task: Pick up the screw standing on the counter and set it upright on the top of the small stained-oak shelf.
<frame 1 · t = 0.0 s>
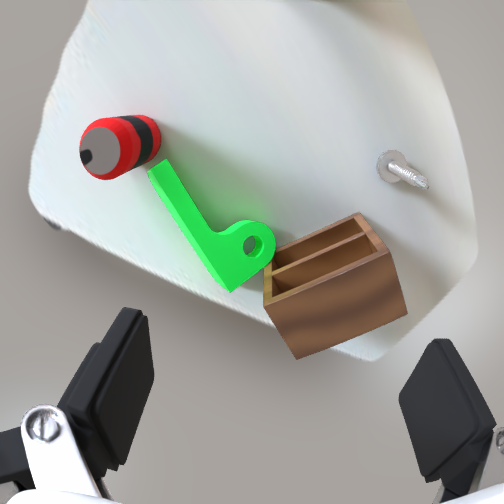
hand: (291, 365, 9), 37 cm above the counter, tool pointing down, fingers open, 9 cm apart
screw: (386, 163, 42), on the counter
soda can: (138, 139, 42), on the counter
shelf: (323, 259, 49), on the counter
bracket: (215, 207, 46), on the counter
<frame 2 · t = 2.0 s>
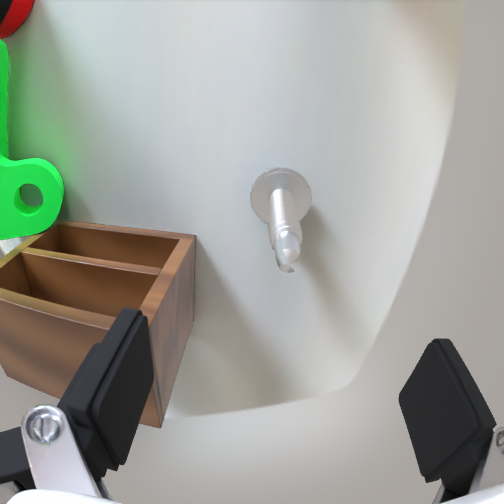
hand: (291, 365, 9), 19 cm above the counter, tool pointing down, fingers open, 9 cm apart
screw: (280, 190, 26), on the counter
soda can: (14, 8, 17), on the counter
shelf: (121, 270, 31), on the counter
bracket: (30, 127, 24), on the counter
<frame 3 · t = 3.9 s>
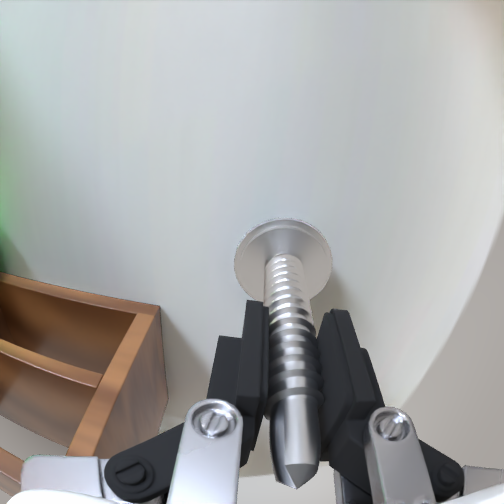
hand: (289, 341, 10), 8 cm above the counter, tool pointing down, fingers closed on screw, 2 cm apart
screw: (281, 247, 17), on the counter, touching gripper
shelf: (72, 338, 21), on the counter
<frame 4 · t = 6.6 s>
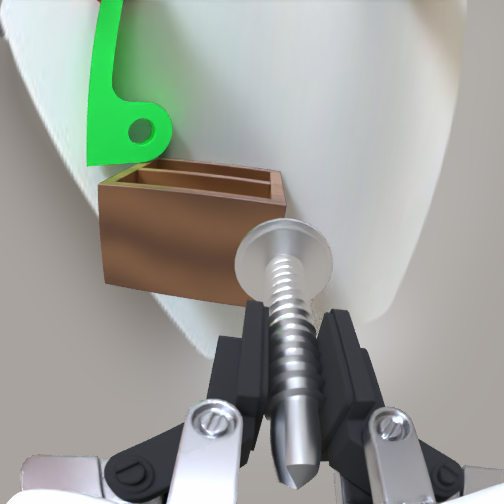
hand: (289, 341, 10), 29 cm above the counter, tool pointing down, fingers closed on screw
screw: (282, 247, 17), point 22 cm above the counter, touching gripper
shelf: (210, 201, 39), on the counter
bracket: (137, 79, 32), on the counter
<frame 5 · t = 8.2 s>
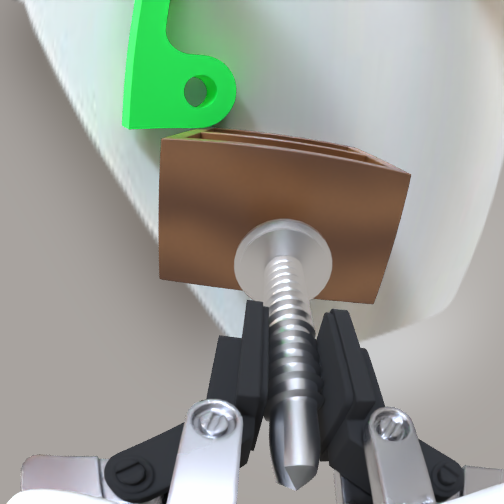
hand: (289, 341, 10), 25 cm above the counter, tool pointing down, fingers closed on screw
screw: (281, 248, 17), point 17 cm above the counter, touching gripper
shelf: (275, 181, 33), on the counter
bracket: (187, 36, 26), on the counter
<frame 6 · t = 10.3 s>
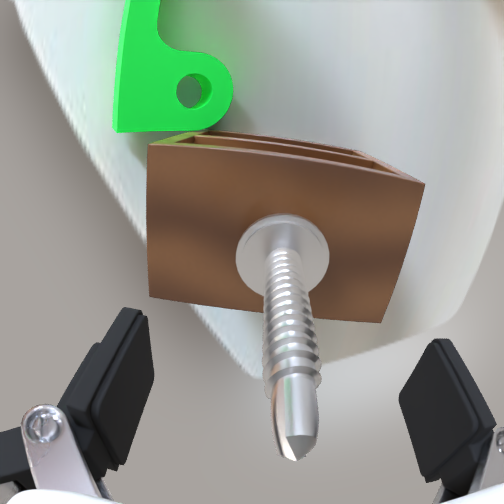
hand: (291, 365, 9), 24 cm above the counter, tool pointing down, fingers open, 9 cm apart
screw: (281, 242, 18), point 14 cm above the counter, touching shelf
shelf: (275, 186, 31), on the counter
bracket: (181, 33, 24), on the counter
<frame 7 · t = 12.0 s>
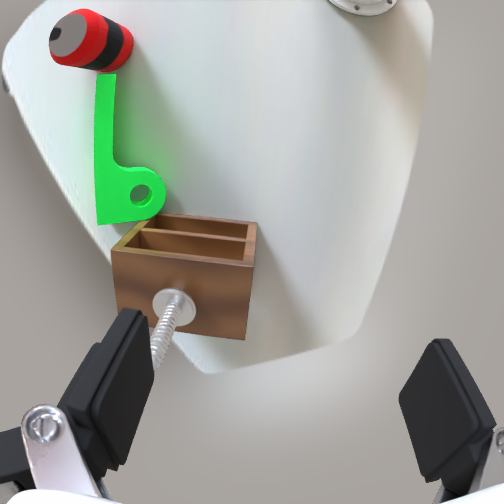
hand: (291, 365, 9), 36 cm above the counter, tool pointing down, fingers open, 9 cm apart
screw: (178, 296, 35), point 14 cm above the counter, touching shelf
soda can: (111, 49, 35), on the counter
shelf: (200, 248, 47), on the counter
bracket: (133, 144, 41), on the counter
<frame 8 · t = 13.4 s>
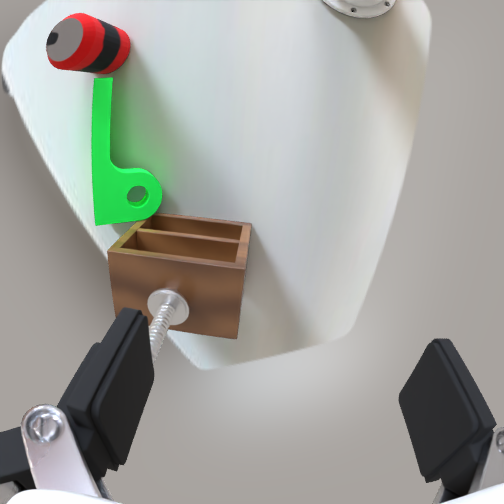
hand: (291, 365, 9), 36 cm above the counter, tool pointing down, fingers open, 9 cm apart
screw: (172, 296, 36), point 14 cm above the counter, touching shelf
soda can: (109, 51, 35), on the counter
shelf: (196, 247, 48), on the counter
bracket: (130, 145, 42), on the counter
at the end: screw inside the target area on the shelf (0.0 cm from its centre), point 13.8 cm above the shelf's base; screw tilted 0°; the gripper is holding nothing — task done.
